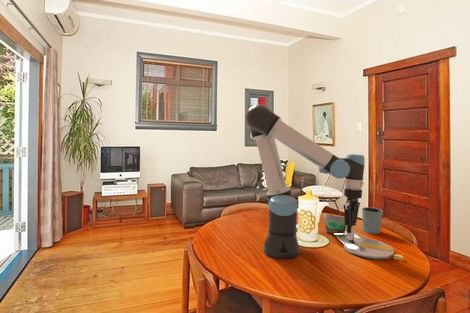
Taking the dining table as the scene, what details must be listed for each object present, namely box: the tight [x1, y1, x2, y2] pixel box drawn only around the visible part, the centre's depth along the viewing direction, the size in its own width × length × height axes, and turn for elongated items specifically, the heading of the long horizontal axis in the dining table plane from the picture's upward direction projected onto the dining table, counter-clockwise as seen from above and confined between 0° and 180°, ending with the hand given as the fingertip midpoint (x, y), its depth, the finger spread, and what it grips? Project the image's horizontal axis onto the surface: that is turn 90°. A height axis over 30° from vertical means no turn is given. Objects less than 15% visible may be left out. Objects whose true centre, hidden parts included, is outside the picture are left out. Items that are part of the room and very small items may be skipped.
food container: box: [323, 213, 347, 236], centre depth 148 cm, size 12×6×10 cm, turn 68°
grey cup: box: [361, 206, 384, 235], centre depth 155 cm, size 10×10×12 cm
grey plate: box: [343, 232, 395, 261], centre depth 127 cm, size 20×20×6 cm
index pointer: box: [392, 253, 404, 262], centre depth 119 cm, size 3×2×2 cm, turn 46°
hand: (349, 239), depth 132 cm, fingers closed
